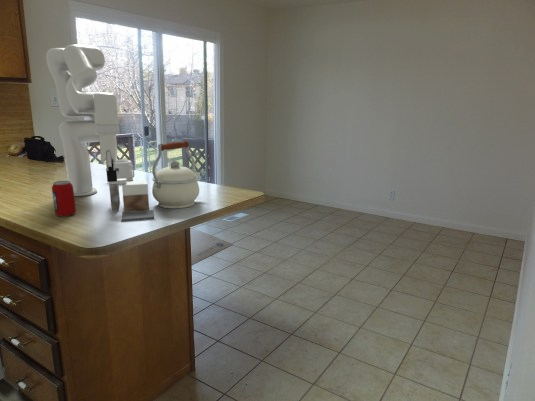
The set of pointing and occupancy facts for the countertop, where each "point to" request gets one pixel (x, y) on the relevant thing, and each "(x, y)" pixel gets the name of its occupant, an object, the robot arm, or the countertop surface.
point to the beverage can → (63, 198)
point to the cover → (135, 188)
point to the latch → (118, 180)
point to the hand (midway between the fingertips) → (112, 181)
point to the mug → (124, 169)
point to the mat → (137, 215)
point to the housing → (128, 200)
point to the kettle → (175, 181)
